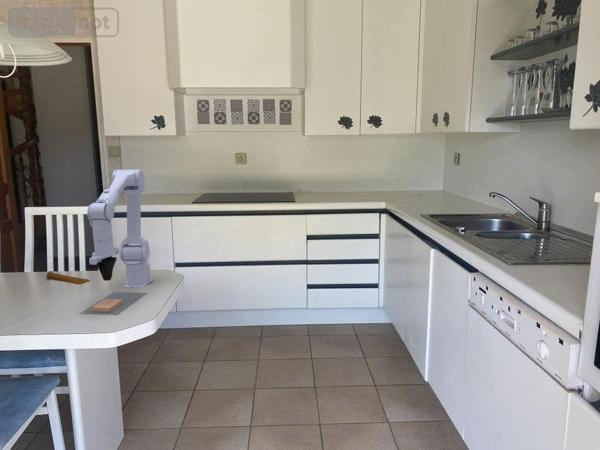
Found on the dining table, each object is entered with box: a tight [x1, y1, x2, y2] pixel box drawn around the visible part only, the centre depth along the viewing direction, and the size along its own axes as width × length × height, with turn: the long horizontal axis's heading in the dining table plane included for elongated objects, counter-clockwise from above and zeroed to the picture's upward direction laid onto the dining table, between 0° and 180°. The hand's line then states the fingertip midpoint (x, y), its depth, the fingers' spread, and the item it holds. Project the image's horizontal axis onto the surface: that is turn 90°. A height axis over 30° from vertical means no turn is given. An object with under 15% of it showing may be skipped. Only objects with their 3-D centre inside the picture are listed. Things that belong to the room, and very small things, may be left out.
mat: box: [79, 291, 148, 316], centre depth 153 cm, size 21×13×1 cm, turn 173°
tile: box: [92, 298, 122, 312], centre depth 148 cm, size 2×6×8 cm
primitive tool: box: [45, 270, 91, 285], centre depth 180 cm, size 19×6×4 cm, turn 73°
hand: (107, 279), depth 149 cm, fingers closed
